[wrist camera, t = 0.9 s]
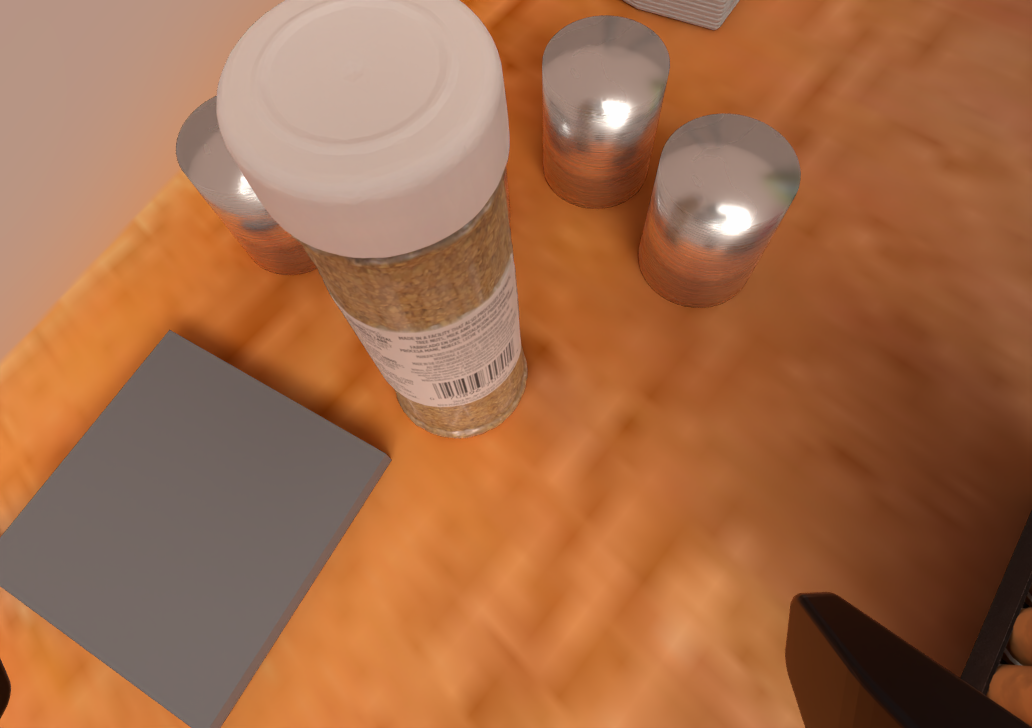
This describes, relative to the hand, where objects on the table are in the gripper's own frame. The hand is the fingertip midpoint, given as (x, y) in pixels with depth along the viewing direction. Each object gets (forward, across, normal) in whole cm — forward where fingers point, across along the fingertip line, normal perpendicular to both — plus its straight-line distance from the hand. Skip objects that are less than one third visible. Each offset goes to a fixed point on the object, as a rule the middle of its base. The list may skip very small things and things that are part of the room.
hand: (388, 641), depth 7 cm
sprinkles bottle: (+15, +1, +3) cm, 16 cm away
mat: (+12, +9, +6) cm, 16 cm away
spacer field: (+19, -1, -2) cm, 19 cm away
